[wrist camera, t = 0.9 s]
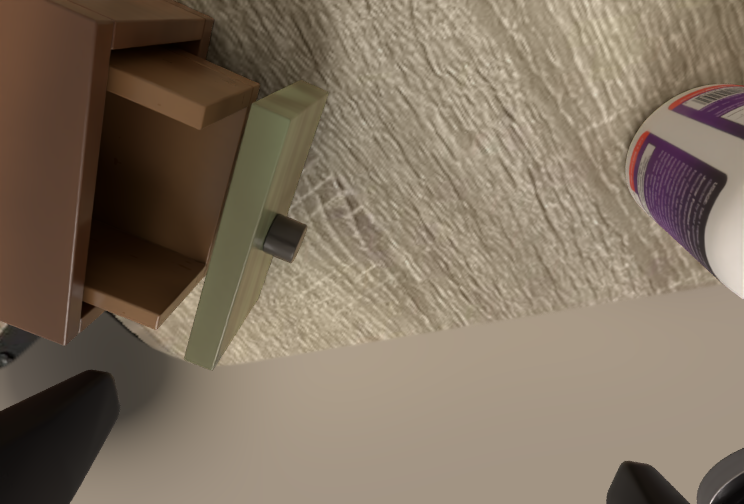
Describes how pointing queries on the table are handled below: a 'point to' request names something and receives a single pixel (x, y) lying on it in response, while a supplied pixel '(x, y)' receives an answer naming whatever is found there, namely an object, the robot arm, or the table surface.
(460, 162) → the table surface
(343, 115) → the table surface
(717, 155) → the pill bottle
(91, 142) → the cabinet
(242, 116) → the drawer
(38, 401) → the robot arm
